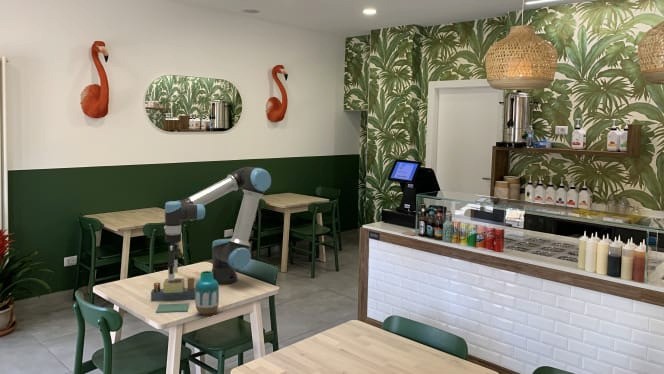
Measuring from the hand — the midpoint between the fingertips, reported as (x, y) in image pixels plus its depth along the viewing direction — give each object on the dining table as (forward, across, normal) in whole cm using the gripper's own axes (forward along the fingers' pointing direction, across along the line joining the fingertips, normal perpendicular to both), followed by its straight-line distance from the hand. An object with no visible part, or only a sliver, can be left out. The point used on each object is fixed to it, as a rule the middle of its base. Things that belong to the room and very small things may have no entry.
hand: (173, 276), depth 259 cm
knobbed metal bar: (+11, 0, 0) cm, 11 cm away
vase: (+12, +22, +18) cm, 30 cm away
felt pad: (+12, +14, +2) cm, 18 cm away
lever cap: (+7, 0, 0) cm, 7 cm away
